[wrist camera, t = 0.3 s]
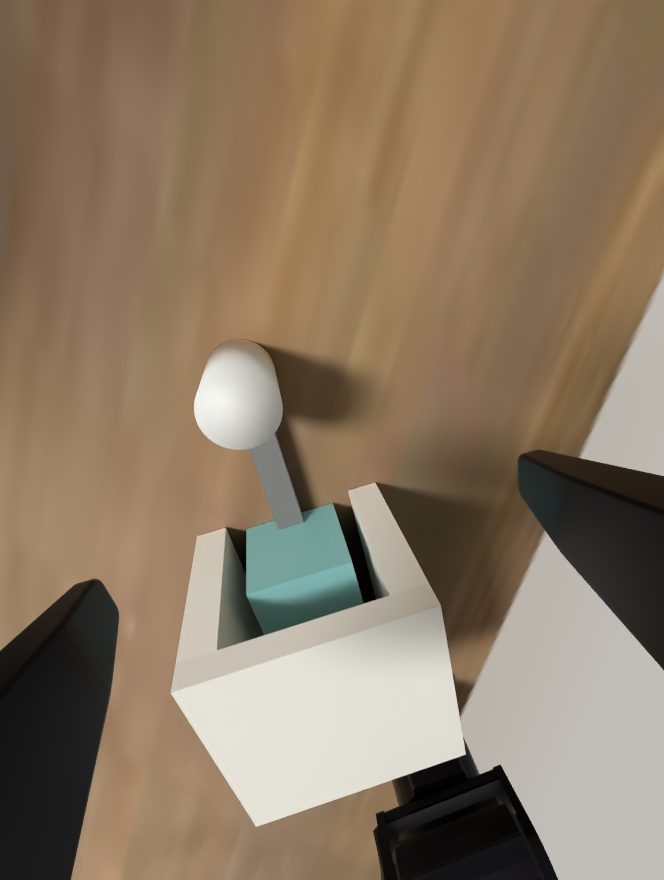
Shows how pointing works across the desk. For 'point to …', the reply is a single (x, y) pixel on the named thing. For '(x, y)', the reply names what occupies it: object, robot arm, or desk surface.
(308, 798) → the white box
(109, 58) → the desk surface
